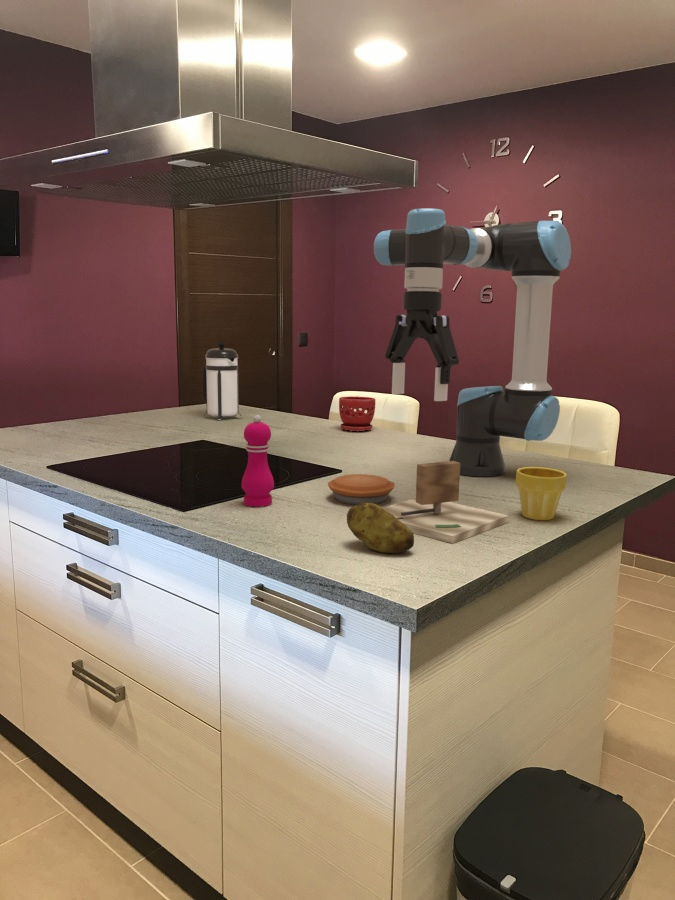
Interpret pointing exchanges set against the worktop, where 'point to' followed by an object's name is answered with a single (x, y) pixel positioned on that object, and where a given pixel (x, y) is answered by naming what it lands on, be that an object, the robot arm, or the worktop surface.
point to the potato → (379, 529)
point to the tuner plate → (446, 520)
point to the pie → (361, 488)
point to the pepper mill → (257, 465)
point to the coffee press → (221, 382)
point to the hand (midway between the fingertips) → (418, 397)
